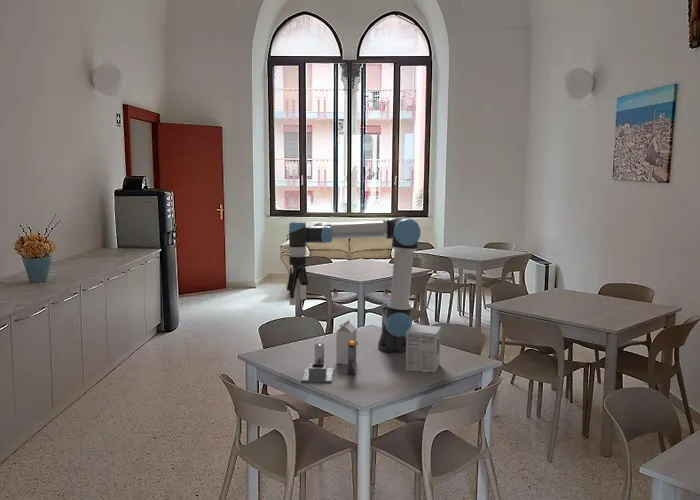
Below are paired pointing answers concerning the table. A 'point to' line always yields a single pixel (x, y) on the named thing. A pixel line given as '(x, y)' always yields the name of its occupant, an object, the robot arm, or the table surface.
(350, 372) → the grey cylinder orange top
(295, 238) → the robot arm
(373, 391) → the table surface
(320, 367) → the post on square base
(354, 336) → the milk carton
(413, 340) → the supplement box
